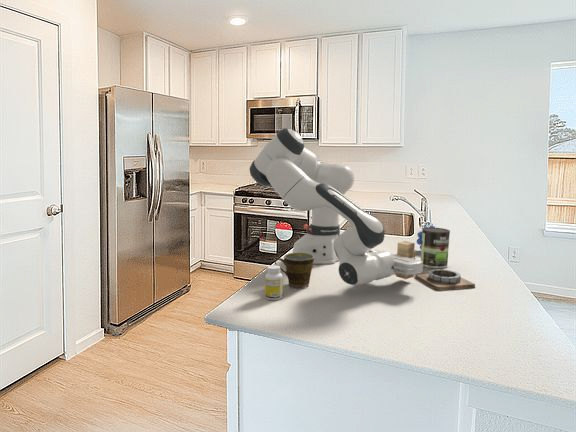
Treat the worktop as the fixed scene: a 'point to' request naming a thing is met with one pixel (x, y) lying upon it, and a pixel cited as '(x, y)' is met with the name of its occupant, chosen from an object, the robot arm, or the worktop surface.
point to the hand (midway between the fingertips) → (406, 257)
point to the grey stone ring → (437, 277)
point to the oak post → (405, 255)
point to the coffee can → (435, 247)
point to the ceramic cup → (298, 268)
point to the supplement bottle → (273, 283)
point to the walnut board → (441, 286)
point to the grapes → (419, 240)
